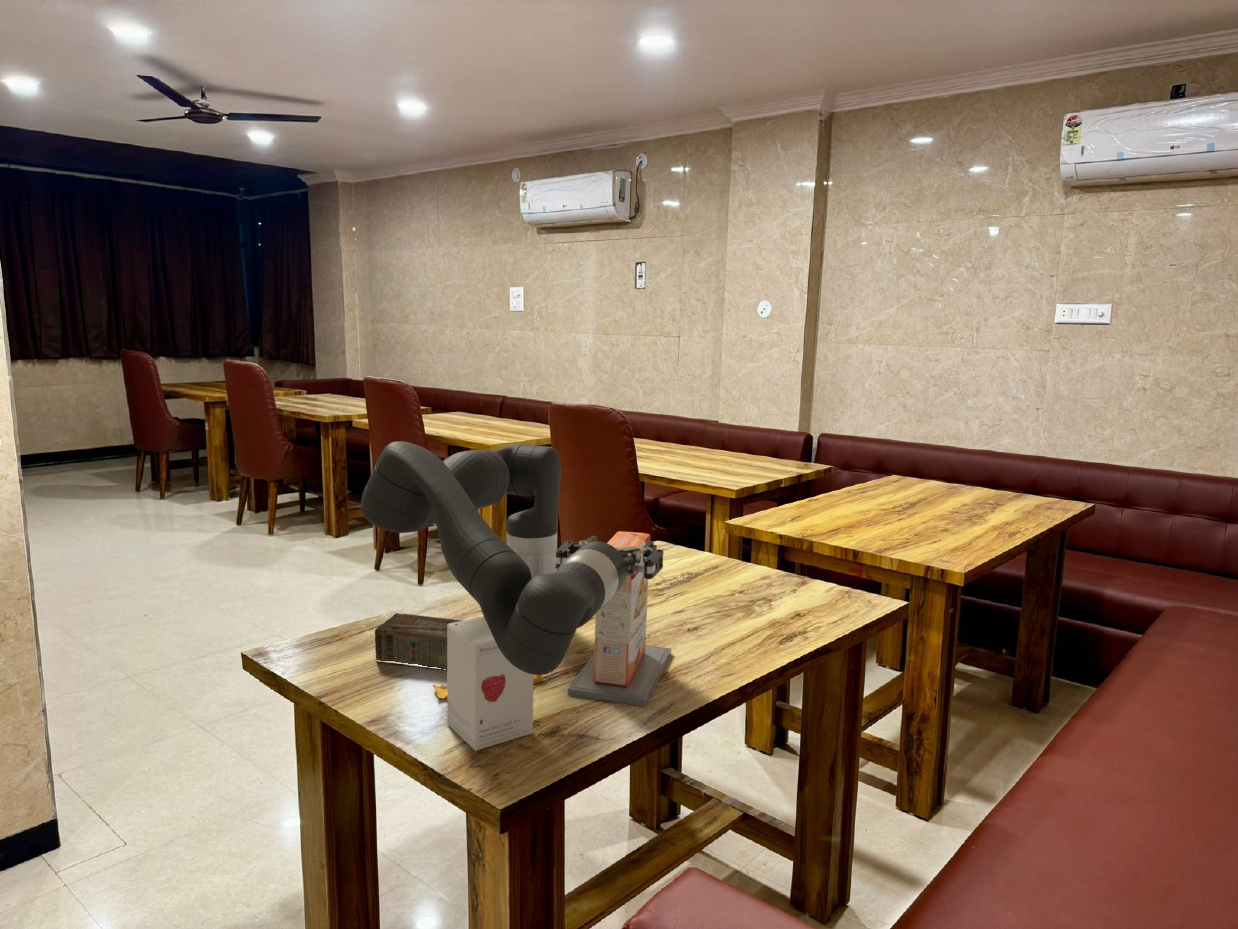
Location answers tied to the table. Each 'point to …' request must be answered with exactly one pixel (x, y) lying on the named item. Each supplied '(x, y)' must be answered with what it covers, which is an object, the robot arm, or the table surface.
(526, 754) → the table surface
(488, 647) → the supplement box
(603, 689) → the slate board
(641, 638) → the cracker box
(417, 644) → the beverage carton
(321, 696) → the table surface
